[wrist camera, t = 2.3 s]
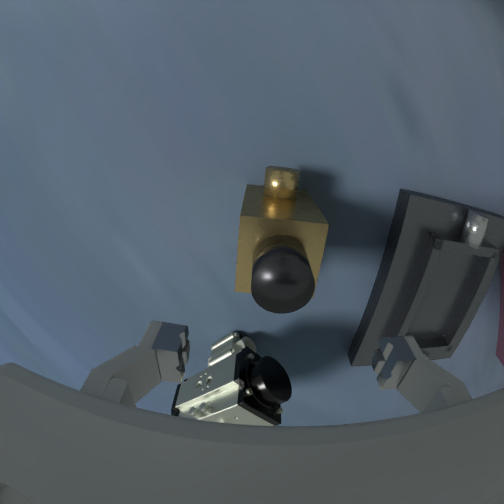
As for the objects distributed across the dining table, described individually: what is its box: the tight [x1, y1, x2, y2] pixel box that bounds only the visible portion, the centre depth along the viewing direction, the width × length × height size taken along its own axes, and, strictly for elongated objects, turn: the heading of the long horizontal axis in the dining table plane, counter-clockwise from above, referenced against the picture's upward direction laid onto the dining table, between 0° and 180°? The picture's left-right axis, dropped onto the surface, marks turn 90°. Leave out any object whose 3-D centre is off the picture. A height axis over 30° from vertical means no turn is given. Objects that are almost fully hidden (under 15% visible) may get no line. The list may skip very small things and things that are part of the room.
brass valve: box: [235, 166, 329, 313], centre depth 19 cm, size 9×5×11 cm, turn 175°
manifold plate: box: [348, 189, 504, 366], centre depth 25 cm, size 20×16×4 cm
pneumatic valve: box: [171, 332, 292, 426], centre depth 25 cm, size 6×12×12 cm, turn 131°
